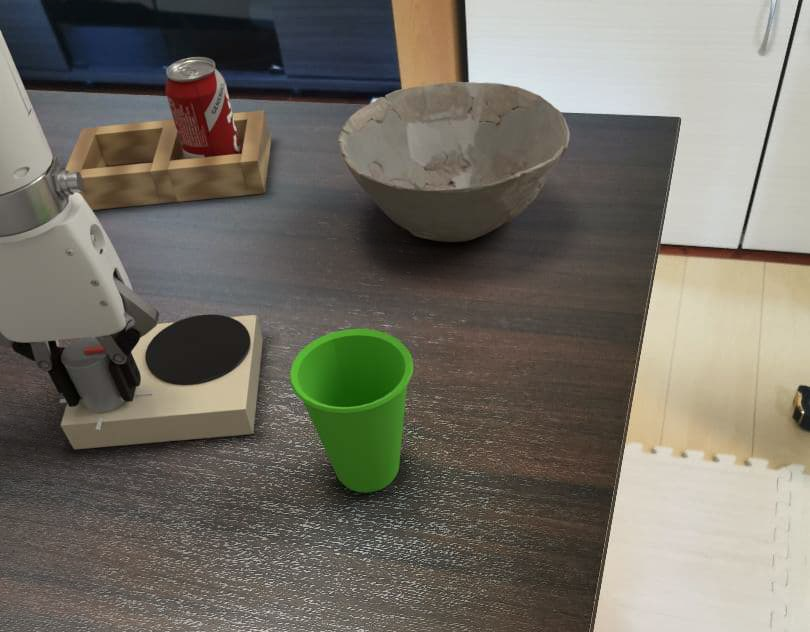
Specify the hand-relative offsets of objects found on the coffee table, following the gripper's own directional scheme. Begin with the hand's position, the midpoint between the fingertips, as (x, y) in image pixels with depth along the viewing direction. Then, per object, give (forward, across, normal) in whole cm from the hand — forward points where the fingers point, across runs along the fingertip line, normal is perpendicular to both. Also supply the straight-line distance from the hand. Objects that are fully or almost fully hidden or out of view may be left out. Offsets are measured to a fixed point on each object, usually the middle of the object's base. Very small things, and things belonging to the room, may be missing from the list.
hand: (103, 391), depth 73 cm
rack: (+4, 0, -44) cm, 44 cm away
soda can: (+4, -5, -44) cm, 44 cm away
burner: (+1, -8, -6) cm, 9 cm away
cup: (+4, -22, +8) cm, 24 cm away
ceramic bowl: (+4, -32, -28) cm, 43 cm away
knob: (+1, 0, 0) cm, 1 cm away
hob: (+4, -4, -4) cm, 7 cm away
